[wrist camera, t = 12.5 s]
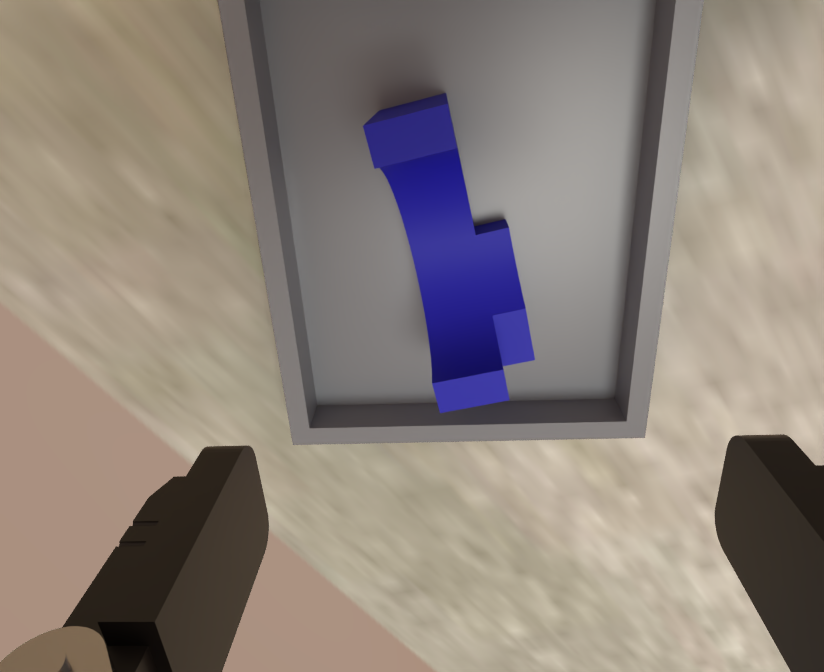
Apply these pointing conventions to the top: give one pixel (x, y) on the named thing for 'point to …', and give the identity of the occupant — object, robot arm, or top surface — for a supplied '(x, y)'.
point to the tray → (487, 193)
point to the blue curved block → (452, 256)
